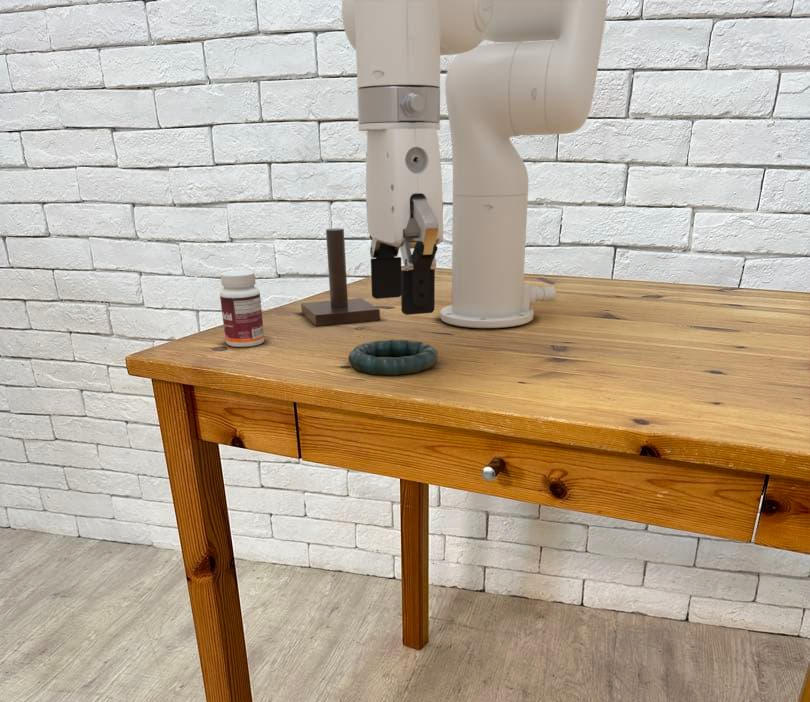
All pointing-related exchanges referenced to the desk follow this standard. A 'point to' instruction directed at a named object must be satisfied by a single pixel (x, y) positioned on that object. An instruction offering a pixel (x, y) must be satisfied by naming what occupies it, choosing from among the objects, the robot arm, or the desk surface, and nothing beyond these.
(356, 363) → the ring
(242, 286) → the pill bottle
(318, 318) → the post
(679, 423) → the desk surface
